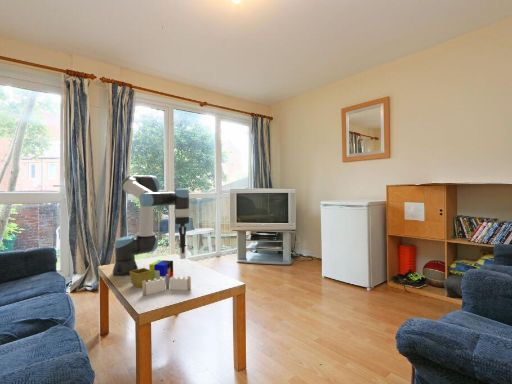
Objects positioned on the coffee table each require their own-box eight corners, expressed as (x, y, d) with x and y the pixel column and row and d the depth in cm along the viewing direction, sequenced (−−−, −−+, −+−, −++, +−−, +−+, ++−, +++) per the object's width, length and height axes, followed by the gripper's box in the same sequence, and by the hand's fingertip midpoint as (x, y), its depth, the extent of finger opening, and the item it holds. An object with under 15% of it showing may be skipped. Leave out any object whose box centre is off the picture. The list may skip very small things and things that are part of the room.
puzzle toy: (164, 282, 160) (164, 265, 160) (149, 281, 162) (149, 264, 162) (173, 276, 170) (173, 260, 170) (158, 275, 172) (158, 260, 172)
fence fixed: (168, 288, 148) (168, 274, 148) (170, 289, 147) (169, 274, 147) (142, 295, 139) (141, 280, 139) (143, 296, 138) (142, 280, 137)
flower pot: (144, 282, 159) (144, 267, 159) (152, 286, 154) (151, 270, 154) (129, 287, 153) (129, 271, 152) (137, 290, 147) (136, 274, 147)
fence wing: (169, 289, 146) (169, 276, 146) (171, 288, 147) (170, 275, 147) (190, 290, 144) (189, 277, 144) (191, 289, 146) (191, 276, 145)
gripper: (174, 215, 155) (175, 256, 156) (175, 217, 143) (176, 262, 143) (188, 214, 158) (189, 255, 158) (189, 217, 145) (190, 260, 146)
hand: (182, 258), depth 151 cm, fingers closed
